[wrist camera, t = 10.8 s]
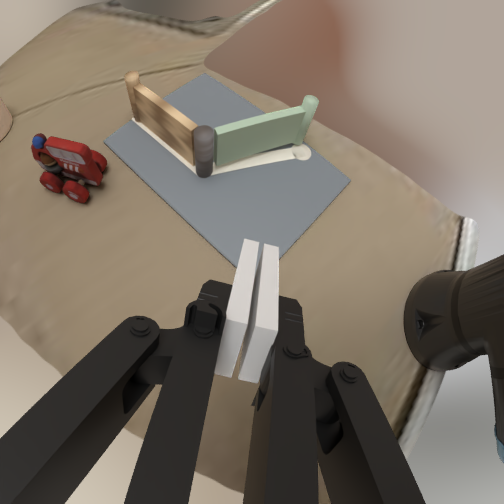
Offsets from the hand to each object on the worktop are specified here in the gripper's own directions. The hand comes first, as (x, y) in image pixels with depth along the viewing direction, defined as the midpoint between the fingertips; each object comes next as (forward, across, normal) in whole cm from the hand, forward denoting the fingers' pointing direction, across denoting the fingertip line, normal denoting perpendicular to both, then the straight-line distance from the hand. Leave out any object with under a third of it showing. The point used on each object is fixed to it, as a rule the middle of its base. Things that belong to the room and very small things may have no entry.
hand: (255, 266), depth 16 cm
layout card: (+32, -7, -1) cm, 33 cm away
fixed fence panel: (+32, -15, -1) cm, 36 cm away
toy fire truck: (+26, -28, -7) cm, 39 cm away
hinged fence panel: (+33, -2, +1) cm, 33 cm away
